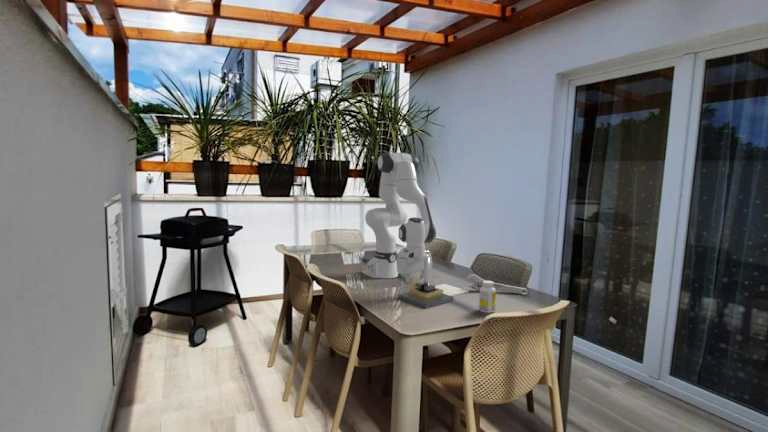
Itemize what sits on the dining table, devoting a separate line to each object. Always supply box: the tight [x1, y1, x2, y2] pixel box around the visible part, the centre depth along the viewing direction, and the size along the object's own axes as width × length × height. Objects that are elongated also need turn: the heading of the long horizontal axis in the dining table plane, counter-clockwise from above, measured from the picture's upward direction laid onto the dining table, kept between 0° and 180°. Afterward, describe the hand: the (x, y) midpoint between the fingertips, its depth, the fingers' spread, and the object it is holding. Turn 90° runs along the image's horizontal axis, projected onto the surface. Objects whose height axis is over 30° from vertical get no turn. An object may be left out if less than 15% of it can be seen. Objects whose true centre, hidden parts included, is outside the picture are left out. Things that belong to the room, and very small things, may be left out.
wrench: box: [466, 273, 529, 295], centre depth 210 cm, size 8×2×30 cm
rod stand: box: [398, 257, 455, 309], centre depth 194 cm, size 18×18×20 cm
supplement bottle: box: [478, 280, 497, 314], centre depth 180 cm, size 7×7×13 cm
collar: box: [407, 279, 443, 301], centre depth 196 cm, size 16×11×5 cm
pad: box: [434, 283, 469, 297], centre depth 209 cm, size 16×16×1 cm
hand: (415, 280), depth 200 cm, fingers open, 8 cm apart
